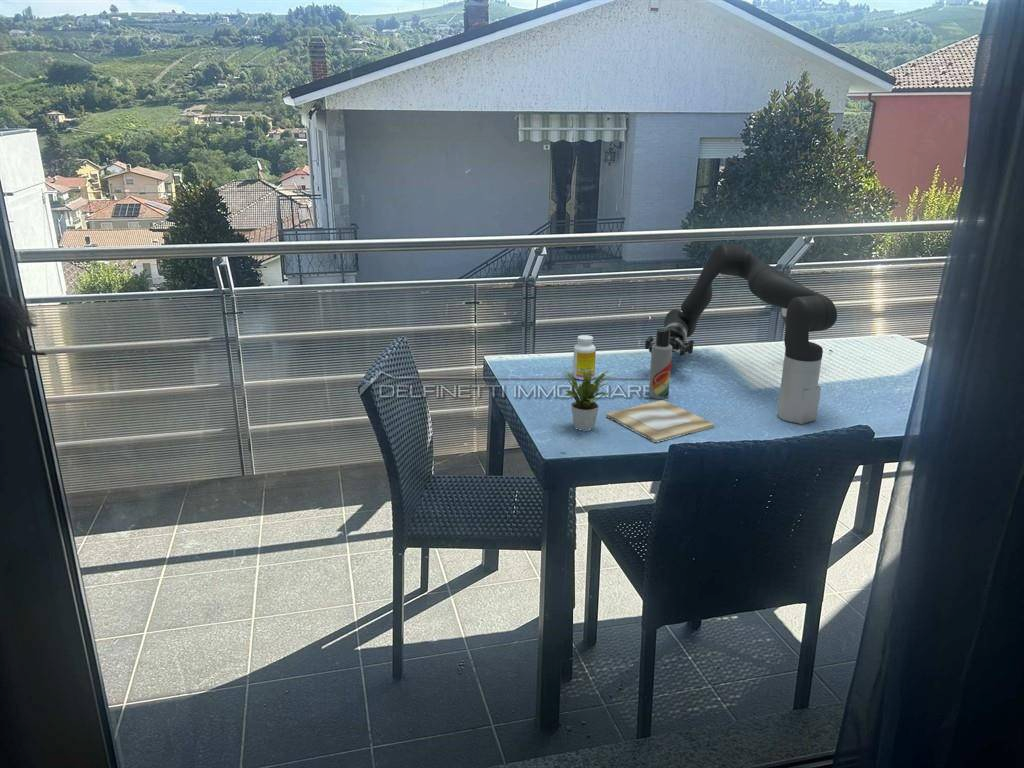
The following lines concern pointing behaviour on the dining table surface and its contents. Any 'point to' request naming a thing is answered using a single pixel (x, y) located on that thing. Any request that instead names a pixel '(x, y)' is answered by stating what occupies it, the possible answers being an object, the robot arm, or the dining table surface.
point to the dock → (660, 420)
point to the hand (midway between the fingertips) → (666, 351)
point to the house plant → (585, 400)
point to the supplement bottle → (584, 357)
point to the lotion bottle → (660, 365)
